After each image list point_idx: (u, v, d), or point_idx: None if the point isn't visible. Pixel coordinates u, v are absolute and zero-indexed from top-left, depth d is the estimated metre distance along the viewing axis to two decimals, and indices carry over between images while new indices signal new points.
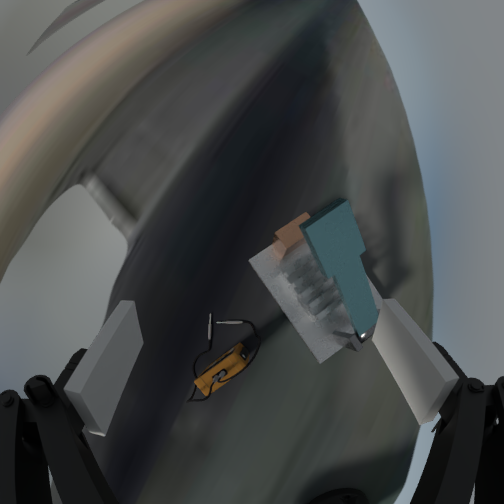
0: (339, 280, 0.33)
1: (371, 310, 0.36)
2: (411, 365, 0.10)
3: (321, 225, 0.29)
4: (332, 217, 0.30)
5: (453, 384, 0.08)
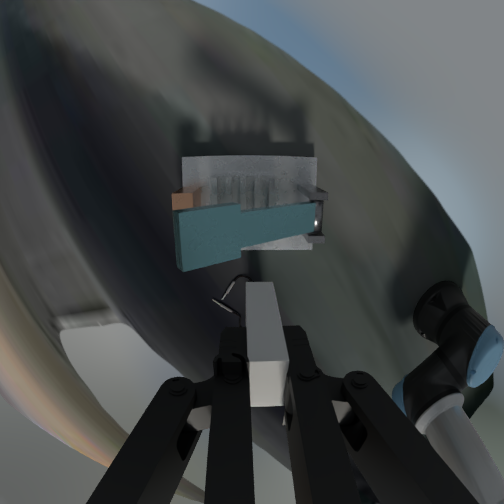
0: (249, 243, 0.32)
1: (300, 211, 0.36)
2: None
3: (188, 253, 0.28)
4: (187, 238, 0.27)
5: (284, 367, 0.10)
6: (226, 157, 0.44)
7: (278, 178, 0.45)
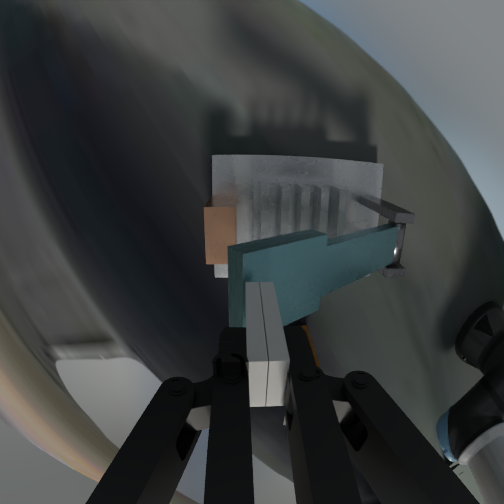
0: (330, 289, 0.22)
1: (385, 238, 0.25)
2: None
3: None
4: None
5: (285, 367, 0.10)
6: (272, 157, 0.33)
7: None
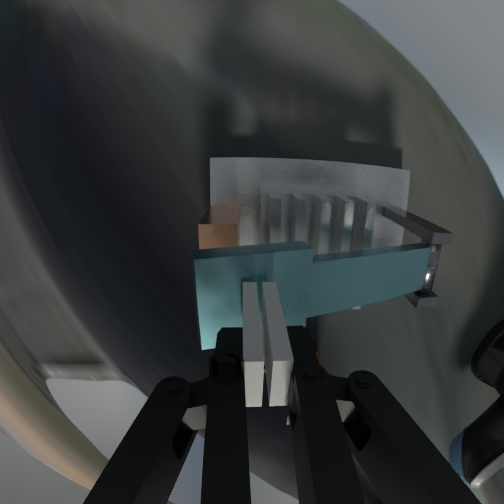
0: (322, 311, 0.19)
1: (409, 260, 0.20)
2: (266, 344, 0.12)
3: (211, 324, 0.16)
4: (209, 301, 0.16)
5: (289, 367, 0.10)
6: (283, 161, 0.27)
7: None
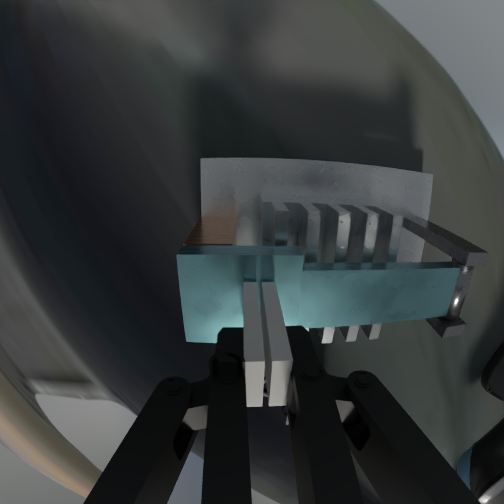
0: (316, 324, 0.17)
1: (429, 280, 0.17)
2: (266, 344, 0.12)
3: (195, 319, 0.17)
4: (192, 296, 0.16)
5: (288, 367, 0.10)
6: (288, 162, 0.23)
7: None
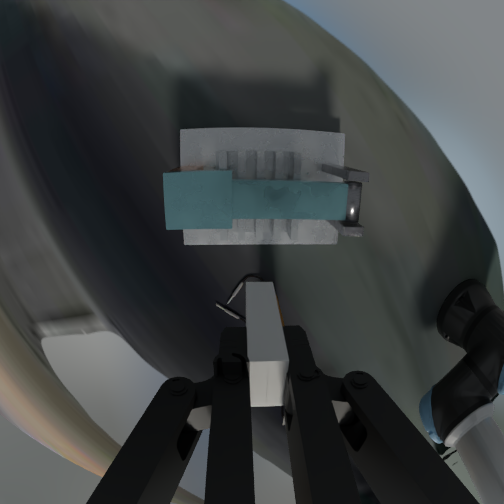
0: (245, 216, 0.29)
1: (322, 190, 0.29)
2: None
3: (171, 212, 0.29)
4: (170, 197, 0.28)
5: (284, 367, 0.10)
6: (235, 129, 0.34)
7: None
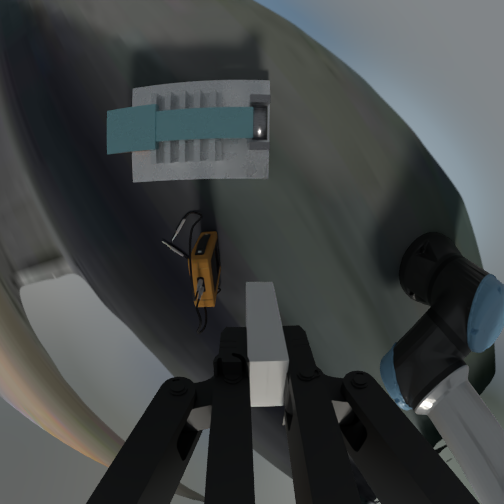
0: (165, 138, 0.32)
1: (229, 113, 0.32)
2: None
3: (111, 140, 0.32)
4: (111, 129, 0.31)
5: (284, 367, 0.10)
6: (175, 84, 0.37)
7: (228, 101, 0.39)
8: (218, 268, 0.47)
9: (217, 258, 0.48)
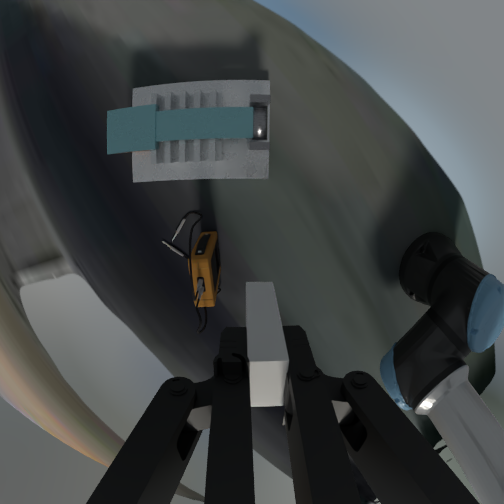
0: (165, 138, 0.32)
1: (229, 113, 0.32)
2: None
3: (111, 140, 0.32)
4: (111, 129, 0.31)
5: (284, 367, 0.10)
6: (175, 84, 0.38)
7: (228, 101, 0.39)
8: (218, 268, 0.47)
9: (217, 258, 0.48)
